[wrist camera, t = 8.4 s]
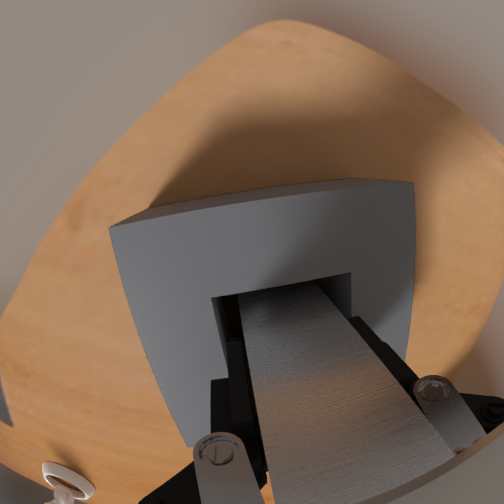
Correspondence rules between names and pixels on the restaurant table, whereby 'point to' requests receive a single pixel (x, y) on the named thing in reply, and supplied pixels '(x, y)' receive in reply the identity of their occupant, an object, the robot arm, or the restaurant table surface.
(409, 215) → the well block
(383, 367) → the steel post
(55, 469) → the hook
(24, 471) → the restaurant table surface
